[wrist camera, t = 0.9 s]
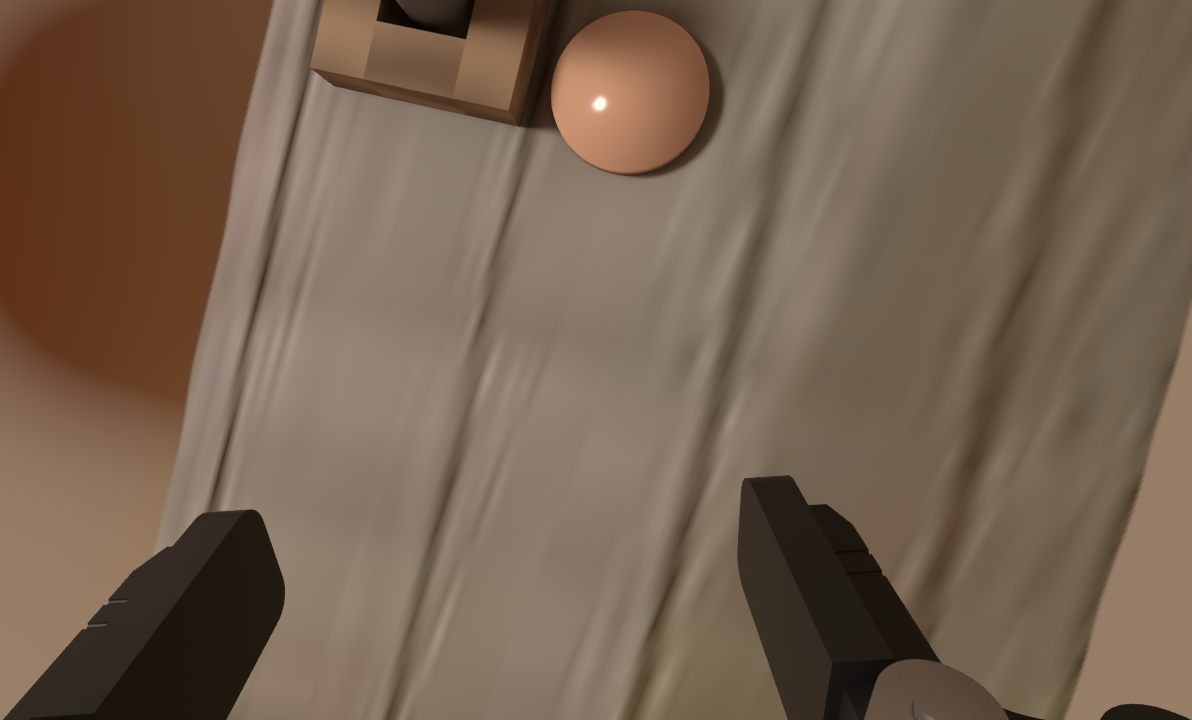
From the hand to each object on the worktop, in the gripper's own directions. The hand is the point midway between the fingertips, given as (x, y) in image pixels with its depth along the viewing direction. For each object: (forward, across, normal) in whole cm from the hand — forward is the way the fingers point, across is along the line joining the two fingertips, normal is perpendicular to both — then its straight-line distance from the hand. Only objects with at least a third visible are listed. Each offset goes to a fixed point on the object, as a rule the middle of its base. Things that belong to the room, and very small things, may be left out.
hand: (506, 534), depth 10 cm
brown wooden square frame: (+34, +5, -11) cm, 36 cm away
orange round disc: (+30, -5, -6) cm, 31 cm away
